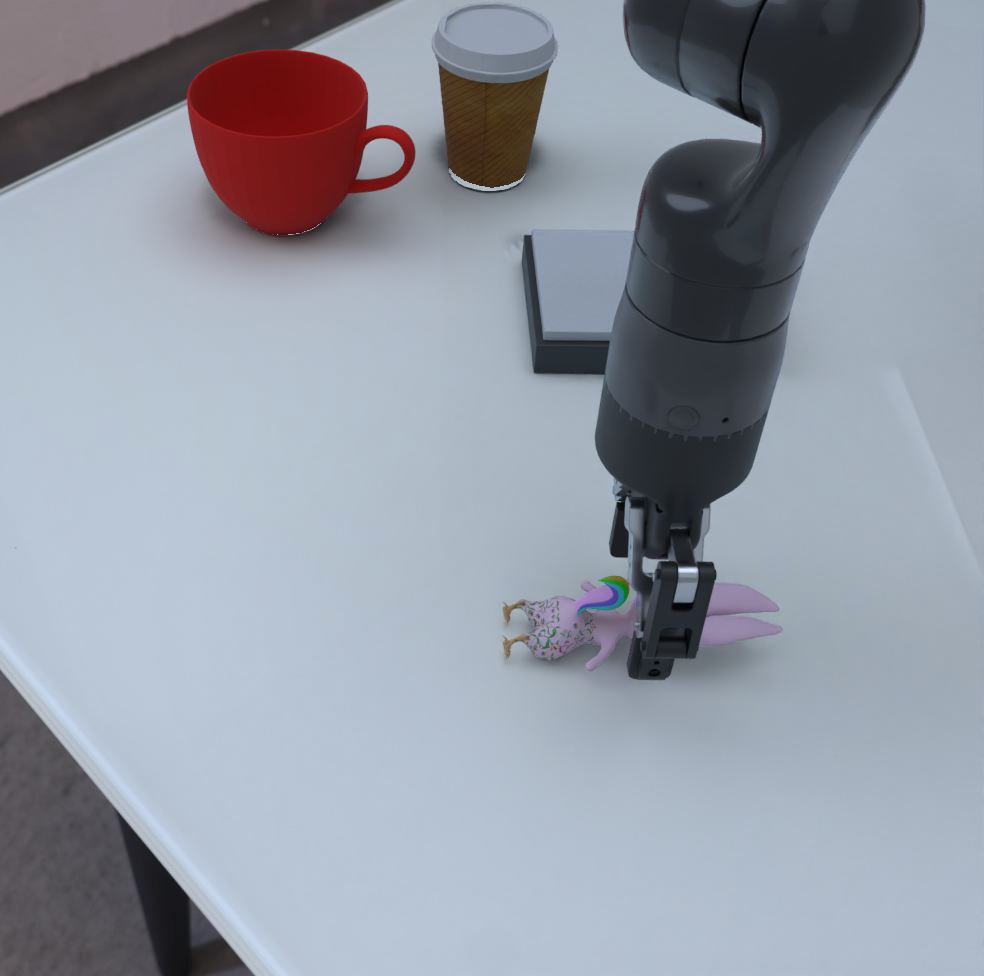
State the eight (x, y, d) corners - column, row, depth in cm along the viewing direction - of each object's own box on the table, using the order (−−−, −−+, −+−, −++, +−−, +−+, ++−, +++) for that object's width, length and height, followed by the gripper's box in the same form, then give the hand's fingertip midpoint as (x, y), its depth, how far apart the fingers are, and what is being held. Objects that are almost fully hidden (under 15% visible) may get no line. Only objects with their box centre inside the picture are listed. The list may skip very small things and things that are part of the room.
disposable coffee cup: (471, 129, 110) (478, -12, 102) (568, 166, 107) (583, 23, 98) (404, 176, 105) (406, 31, 96) (503, 217, 101) (514, 70, 93)
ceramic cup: (382, 288, 95) (382, 164, 87) (170, 239, 98) (153, 116, 91) (440, 196, 103) (444, 77, 96) (243, 154, 107) (233, 36, 99)
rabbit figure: (507, 700, 71) (788, 684, 70) (495, 631, 67) (794, 612, 65) (506, 612, 76) (771, 595, 74) (495, 542, 71) (776, 522, 70)
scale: (734, 264, 98) (743, 227, 96) (767, 375, 89) (778, 338, 87) (521, 261, 97) (524, 224, 95) (533, 373, 89) (537, 335, 86)
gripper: (805, 487, 54) (728, 720, 66) (744, 283, 64) (686, 517, 75) (624, 485, 54) (579, 719, 65) (590, 280, 63) (557, 515, 75)
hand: (637, 610), depth 70 cm, fingers open, 8 cm apart
